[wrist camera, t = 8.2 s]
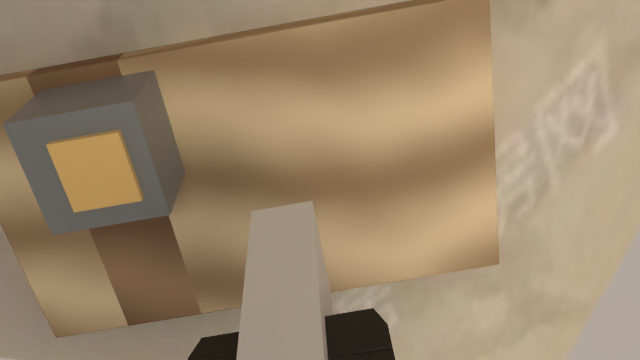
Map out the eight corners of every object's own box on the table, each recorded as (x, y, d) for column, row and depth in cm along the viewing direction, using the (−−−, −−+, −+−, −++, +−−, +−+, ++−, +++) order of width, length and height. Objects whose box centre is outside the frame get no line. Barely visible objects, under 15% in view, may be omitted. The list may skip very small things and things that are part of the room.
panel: (-50, 84, 27) (-64, 93, 26) (480, -12, 26) (489, -7, 25) (63, 322, 33) (56, 337, 32) (492, 251, 32) (499, 263, 31)
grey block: (41, 90, 26) (-2, 127, 22) (154, 70, 26) (130, 103, 22) (81, 189, 28) (49, 239, 24) (185, 172, 28) (168, 218, 24)
